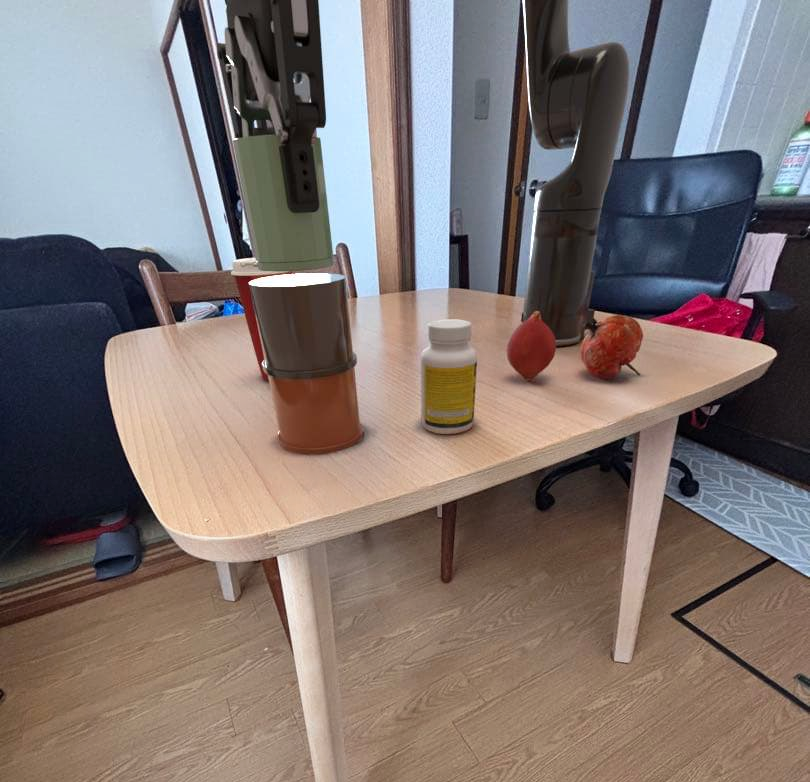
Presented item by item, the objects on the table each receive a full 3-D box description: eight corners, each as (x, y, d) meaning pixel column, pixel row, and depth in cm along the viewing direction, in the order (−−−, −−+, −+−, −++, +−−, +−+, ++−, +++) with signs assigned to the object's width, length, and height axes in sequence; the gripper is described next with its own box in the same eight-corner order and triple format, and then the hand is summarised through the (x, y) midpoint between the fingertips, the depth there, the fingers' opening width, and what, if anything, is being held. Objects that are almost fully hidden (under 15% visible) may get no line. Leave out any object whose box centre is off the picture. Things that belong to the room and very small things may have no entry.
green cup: (316, 261, 42) (301, 145, 37) (346, 265, 38) (333, 135, 33) (248, 267, 39) (223, 144, 35) (272, 273, 35) (247, 133, 30)
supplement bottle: (482, 431, 47) (489, 325, 41) (431, 439, 46) (430, 332, 40) (461, 412, 51) (465, 315, 45) (414, 419, 50) (412, 320, 44)
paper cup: (298, 385, 61) (277, 261, 53) (244, 383, 63) (216, 263, 54) (318, 367, 67) (302, 255, 59) (269, 366, 69) (247, 256, 61)
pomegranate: (615, 383, 64) (562, 335, 62) (664, 340, 59) (608, 287, 57) (618, 407, 59) (560, 356, 57) (671, 363, 54) (610, 306, 52)
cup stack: (341, 414, 52) (324, 270, 44) (378, 440, 46) (367, 278, 38) (267, 432, 49) (233, 280, 40) (296, 462, 42) (263, 290, 34)
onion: (495, 381, 60) (500, 312, 55) (519, 370, 63) (526, 305, 58) (536, 389, 56) (545, 317, 52) (559, 378, 60) (570, 309, 55)
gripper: (348, -203, 23) (374, 210, 33) (260, -75, 33) (300, 212, 43) (192, -258, 20) (271, 215, 30) (147, -98, 30) (217, 216, 40)
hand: (288, 212), depth 36 cm, fingers closed on green cup, 6 cm apart
